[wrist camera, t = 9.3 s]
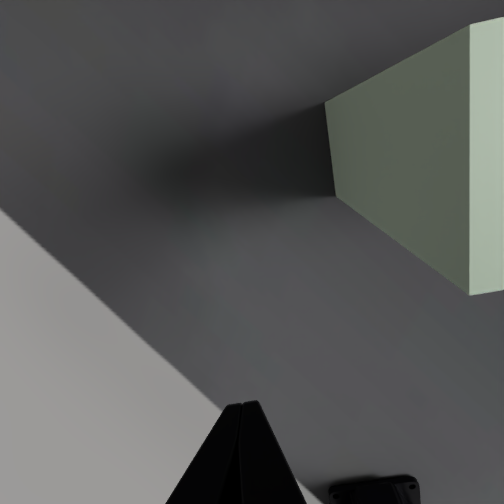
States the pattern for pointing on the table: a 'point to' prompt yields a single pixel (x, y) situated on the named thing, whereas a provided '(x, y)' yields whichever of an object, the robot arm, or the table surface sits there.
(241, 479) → the robot arm
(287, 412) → the table surface
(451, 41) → the head tile
